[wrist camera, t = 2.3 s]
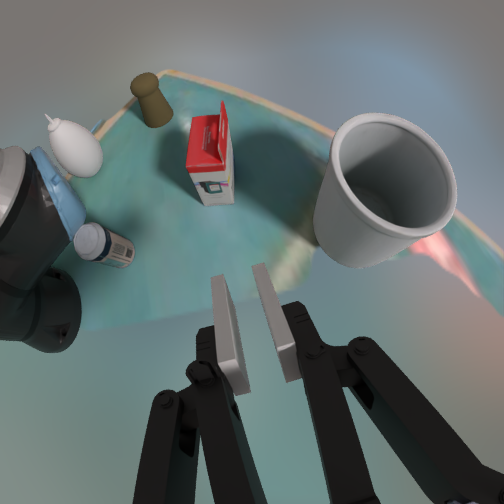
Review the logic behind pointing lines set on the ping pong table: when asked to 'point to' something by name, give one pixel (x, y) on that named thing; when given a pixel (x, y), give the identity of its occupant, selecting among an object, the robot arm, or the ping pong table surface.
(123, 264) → the beer can
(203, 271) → the ping pong table surface
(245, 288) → the ping pong table surface
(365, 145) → the utensil holder
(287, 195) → the ping pong table surface
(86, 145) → the air blower bulb
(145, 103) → the cork
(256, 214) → the ping pong table surface
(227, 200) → the ink box
